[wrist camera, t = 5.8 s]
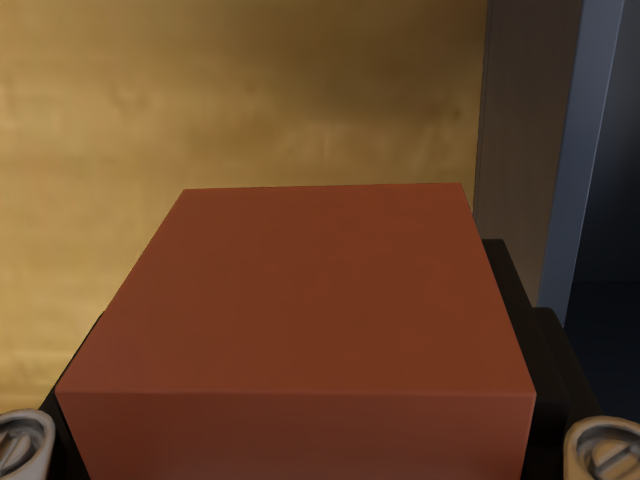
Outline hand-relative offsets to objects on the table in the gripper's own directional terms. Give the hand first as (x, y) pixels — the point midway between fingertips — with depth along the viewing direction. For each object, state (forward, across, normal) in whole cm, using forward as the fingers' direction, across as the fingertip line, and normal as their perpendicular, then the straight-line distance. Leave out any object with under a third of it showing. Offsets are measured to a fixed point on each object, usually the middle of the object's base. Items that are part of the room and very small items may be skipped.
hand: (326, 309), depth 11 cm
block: (0, 0, 0) cm, 0 cm away
